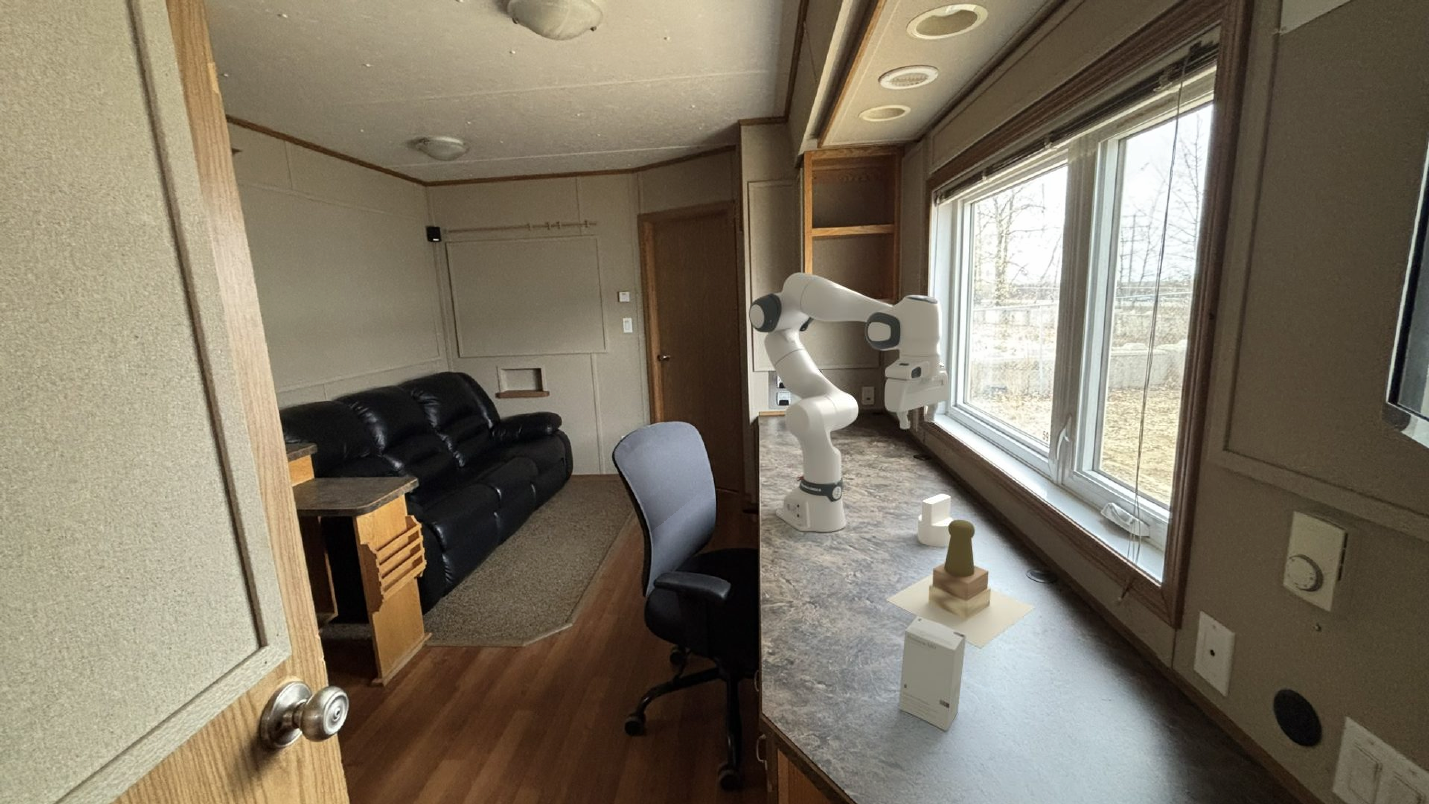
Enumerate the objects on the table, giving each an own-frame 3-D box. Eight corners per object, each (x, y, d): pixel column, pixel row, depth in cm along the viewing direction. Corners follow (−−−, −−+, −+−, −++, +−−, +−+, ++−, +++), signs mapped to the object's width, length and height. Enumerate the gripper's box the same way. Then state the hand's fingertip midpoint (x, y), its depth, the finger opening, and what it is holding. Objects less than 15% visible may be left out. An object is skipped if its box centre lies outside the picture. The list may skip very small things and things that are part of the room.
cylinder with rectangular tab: (930, 530, 160) (932, 490, 157) (959, 540, 152) (961, 499, 150) (910, 538, 155) (912, 497, 152) (939, 550, 147) (941, 507, 145)
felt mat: (885, 602, 124) (885, 599, 124) (941, 570, 137) (942, 568, 137) (980, 651, 107) (980, 648, 107) (1035, 610, 119) (1035, 607, 119)
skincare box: (898, 710, 93) (900, 630, 90) (911, 689, 97) (914, 613, 94) (950, 734, 88) (954, 650, 85) (962, 711, 92) (966, 631, 89)
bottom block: (928, 601, 123) (929, 585, 122) (951, 588, 128) (952, 572, 127) (967, 620, 116) (968, 603, 115) (989, 605, 121) (990, 588, 120)
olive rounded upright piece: (978, 577, 117) (981, 528, 115) (947, 575, 118) (950, 527, 116) (970, 563, 123) (973, 516, 121) (941, 562, 124) (943, 515, 122)
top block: (932, 585, 122) (933, 568, 121) (953, 573, 126) (953, 557, 126) (967, 601, 115) (968, 583, 115) (987, 588, 120) (988, 571, 119)
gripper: (933, 360, 136) (931, 415, 139) (880, 370, 125) (878, 429, 127) (957, 363, 131) (954, 419, 134) (904, 373, 120) (902, 435, 122)
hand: (917, 424), depth 131 cm, fingers open, 8 cm apart
